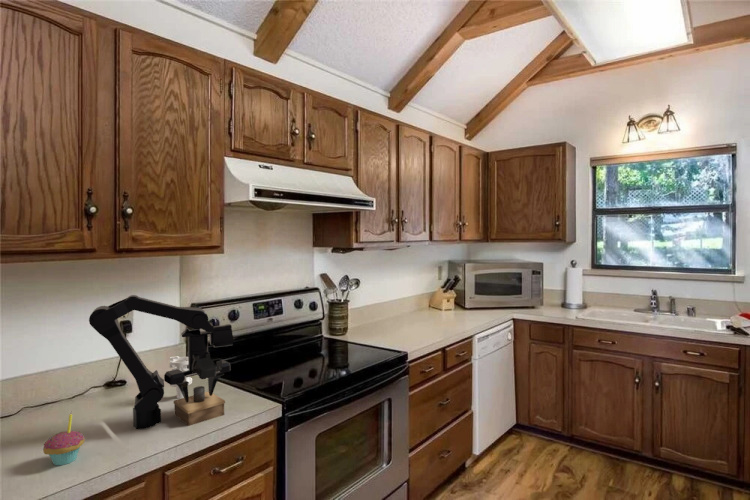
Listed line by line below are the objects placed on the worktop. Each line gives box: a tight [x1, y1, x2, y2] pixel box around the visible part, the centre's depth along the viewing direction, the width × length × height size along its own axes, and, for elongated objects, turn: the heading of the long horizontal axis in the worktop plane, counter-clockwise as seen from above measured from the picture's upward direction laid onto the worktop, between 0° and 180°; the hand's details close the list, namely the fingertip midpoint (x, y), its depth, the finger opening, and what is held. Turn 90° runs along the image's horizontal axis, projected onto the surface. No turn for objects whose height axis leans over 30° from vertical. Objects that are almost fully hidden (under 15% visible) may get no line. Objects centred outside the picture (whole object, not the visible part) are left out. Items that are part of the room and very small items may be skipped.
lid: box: [172, 385, 226, 414], centre depth 136 cm, size 11×11×5 cm
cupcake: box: [42, 410, 85, 466], centre depth 110 cm, size 9×8×12 cm
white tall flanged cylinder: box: [169, 355, 193, 399], centre depth 151 cm, size 7×7×15 cm
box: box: [173, 403, 225, 427], centre depth 136 cm, size 11×11×4 cm
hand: (199, 398), depth 136 cm, fingers open, 7 cm apart
